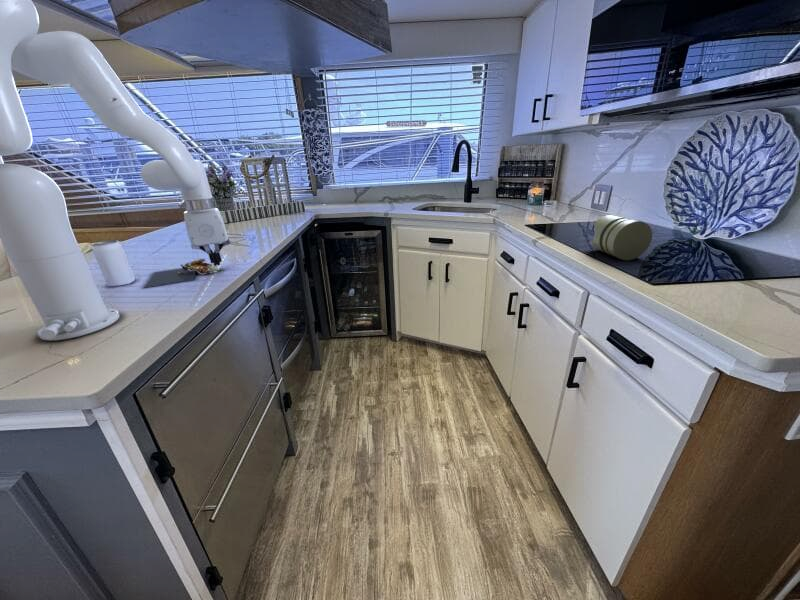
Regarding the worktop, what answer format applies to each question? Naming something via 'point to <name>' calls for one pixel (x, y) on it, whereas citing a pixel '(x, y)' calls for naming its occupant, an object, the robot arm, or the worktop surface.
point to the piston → (621, 237)
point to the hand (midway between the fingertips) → (217, 264)
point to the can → (113, 263)
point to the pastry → (199, 267)
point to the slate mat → (170, 277)
